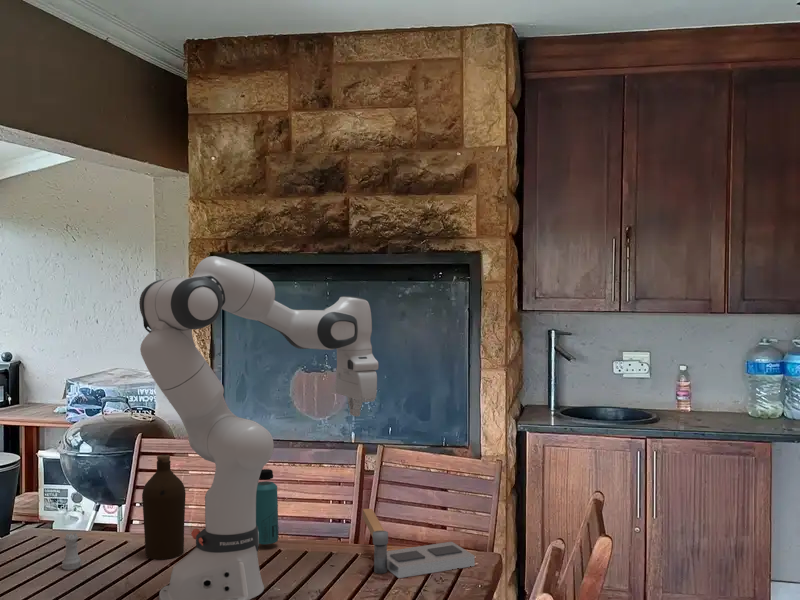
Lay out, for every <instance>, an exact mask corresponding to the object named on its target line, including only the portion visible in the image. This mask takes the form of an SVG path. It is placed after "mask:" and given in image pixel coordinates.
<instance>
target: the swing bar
mask: <svg viewBox="0 0 800 600" xmlns="http://www.w3.org/2000/svg"><path fill="white" fill-rule="evenodd" d="M362 519H363V521H364V524H365V525H366V527H367V529H368V531H369V533H370V535H371V537H372V544H373V545H374V544H375V545H386V544H387V545H388V544H389V532H388V531H386V530H385V529H384V527H383V525H382V523H381V522H380V520H379V518H378V517H377V515H376V513H375V511H374V509H373V508H362Z"/></svg>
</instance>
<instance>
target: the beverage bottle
mask: <svg viewBox="0 0 800 600" xmlns="http://www.w3.org/2000/svg"><path fill="white" fill-rule="evenodd" d="M273 471H274V470H273V469H269V468H262V471H261V474H260V477H259V481H260V482H259V481H258V485H257V491H256V526H258V533H259V545H271V544H275V543H277V542H278V541H279V534H280V532H279V531H280V530H279V500H278V485H277V484H276V483H274V482H273V481H266V480H272V479H274V474H273V473H274V472H273ZM261 480H263V481H261Z"/></svg>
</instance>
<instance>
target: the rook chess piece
mask: <svg viewBox="0 0 800 600" xmlns="http://www.w3.org/2000/svg"><path fill="white" fill-rule="evenodd" d="M63 540H64V542H65V545H64V546H65V554H64V557H63V560H62V562H61V564H62V565H61V568H62V569H63V570H65V571H73V570H74V571H75V570H78V569H79V568H81V566H82V563H81V562H82V560H81V558H80V555H79V553H78V540H79V536H78V533H76V532H73V533H72V532H71V533H66V534H65V537H64V538H63Z"/></svg>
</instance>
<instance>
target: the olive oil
mask: <svg viewBox="0 0 800 600" xmlns="http://www.w3.org/2000/svg"><path fill="white" fill-rule="evenodd" d="M156 459H157V461H156V471H155V473H154V474H153V475H152V476H151V477H150V478H149V479H148V481H147V482H146V483H145V484H144V486H143V489H142V493H141V500H142V501H141V502H142V513H143V514H142V515H143V517H142V518H143V531H144V550H145V551H144V552H145V553H144V555H145V557H146V558H147V559H149V560H156V561H157V560H170V559H174V558H177V557H180V556H182V555H183V554H184V553H185V552H184V551H185V517H186V515H185V513H186V510H185V509H186V487H185V484H184V483H183V481H182V480H181V479H180V478H179V477H178V476H177V475H176V474H175V473H174V472H173V471H172V469H171V456H170V455H169V454H159V455H157V456H156Z"/></svg>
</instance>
